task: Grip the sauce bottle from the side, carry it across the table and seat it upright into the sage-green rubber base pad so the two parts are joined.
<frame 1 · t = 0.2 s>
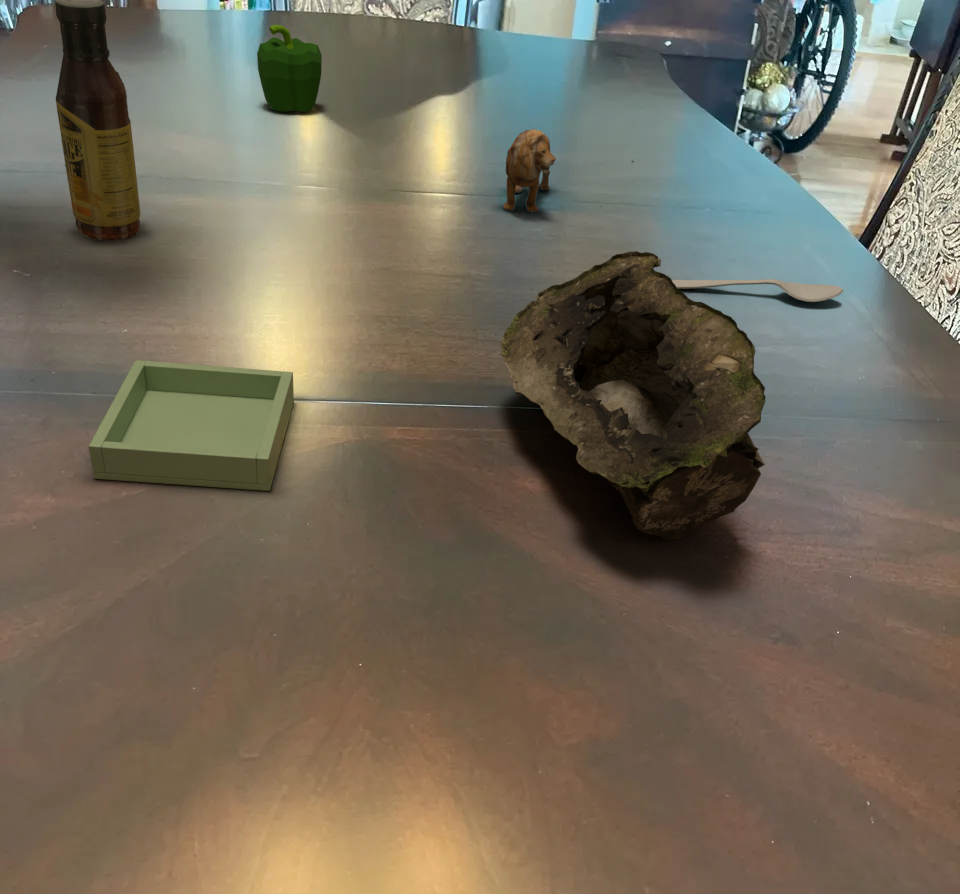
sauce bottle: (110, 235, 103), on the table
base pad: (200, 437, 75), on the table
bell pepper: (290, 110, 141), on the table
spoon: (736, 295, 105), on the table
lion figurine: (528, 204, 120), on the table
hollow geode rock: (616, 474, 77), on the table
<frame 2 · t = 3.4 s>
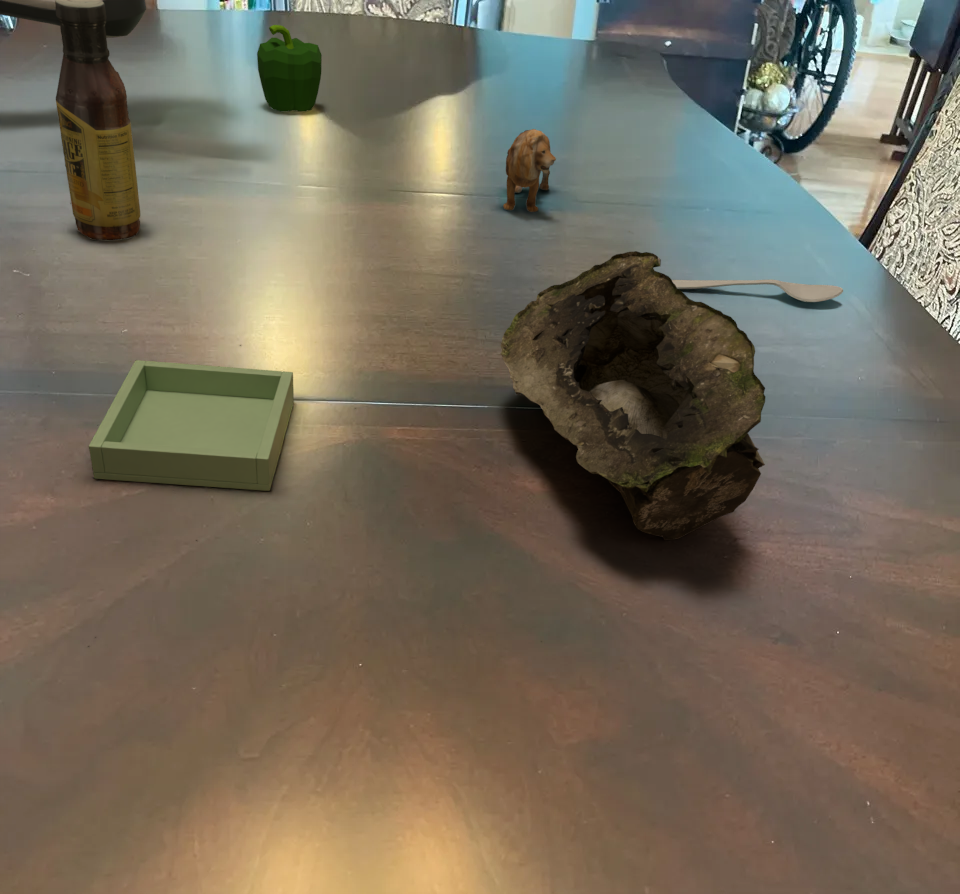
nothing on the table moved.
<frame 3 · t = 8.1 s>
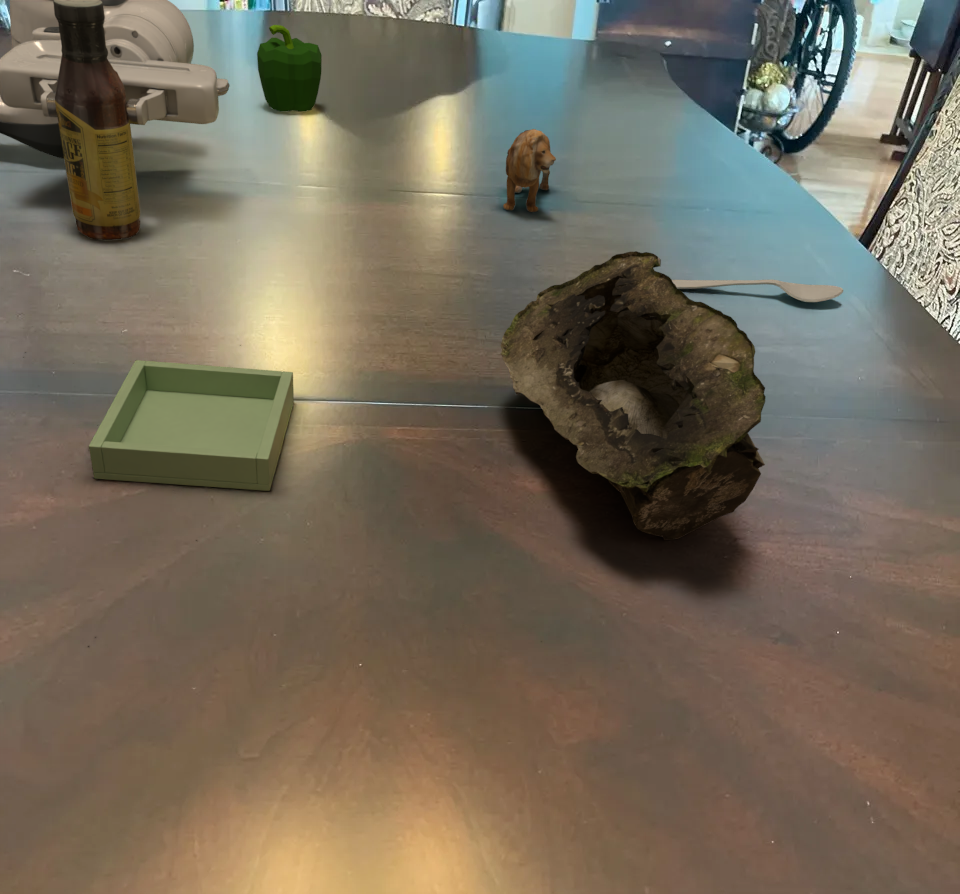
hand: (91, 111, 95), 11 cm above the table, tool horizontal, fingers closed on sauce bottle, 6 cm apart
sauce bottle: (110, 234, 103), on the table, touching gripper
everything else where it was.
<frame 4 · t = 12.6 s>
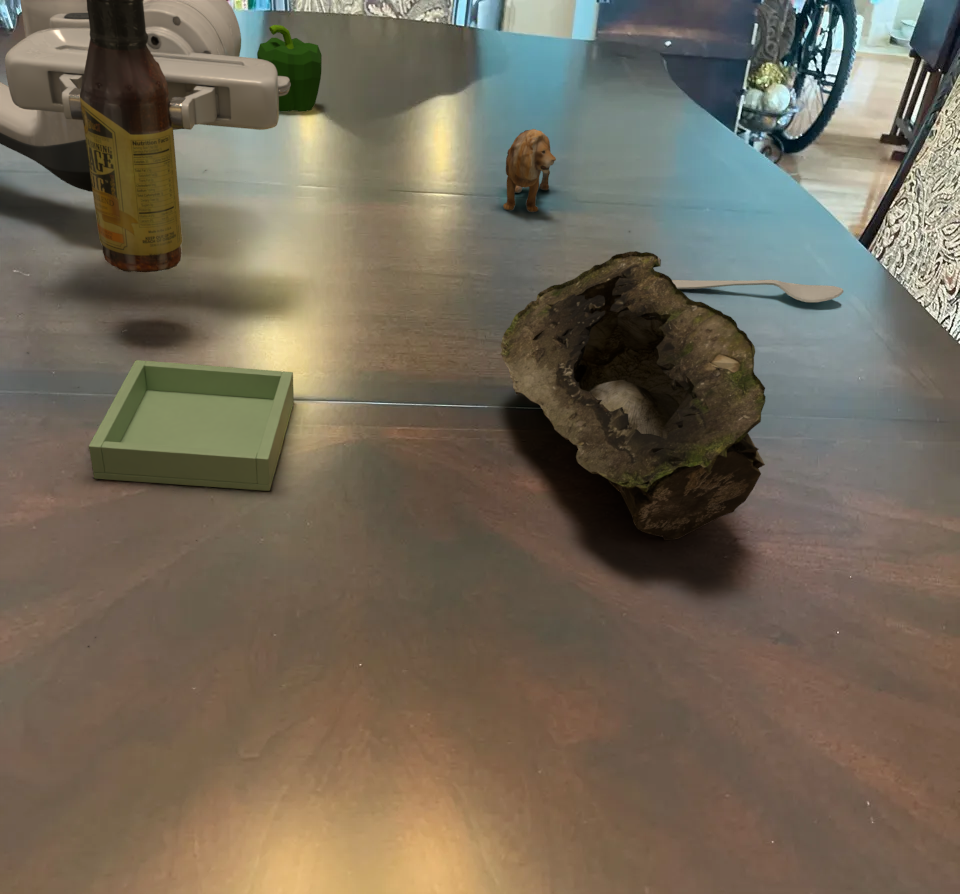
hand: (125, 112, 76), 17 cm above the table, tool horizontal, fingers closed on sauce bottle, 6 cm apart
sauce bottle: (144, 265, 83), point 6 cm above the table, touching gripper
everything else where it was.
when the fingers open (12 cm above the table, at t = 16.9 s): sauce bottle stays where it is, resting on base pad.
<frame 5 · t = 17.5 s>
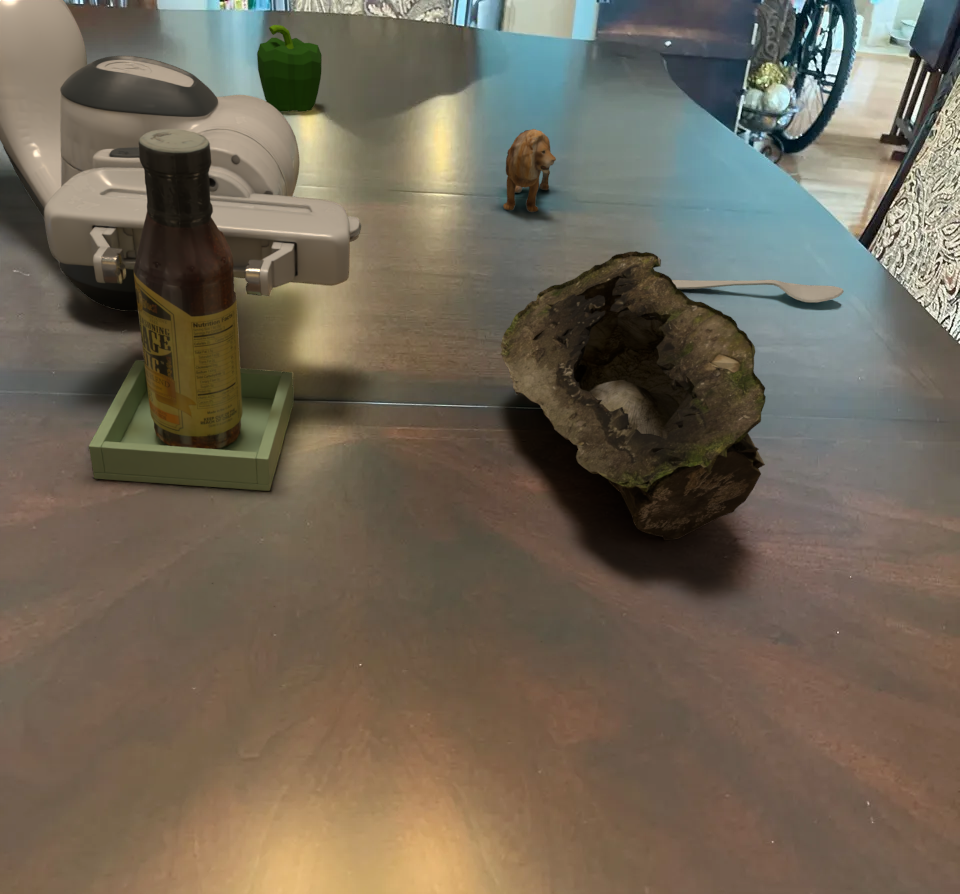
hand: (181, 278, 67), 12 cm above the table, tool horizontal, fingers open, 8 cm apart
sauce bottle: (200, 438, 74), resting on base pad
everything else where it was.
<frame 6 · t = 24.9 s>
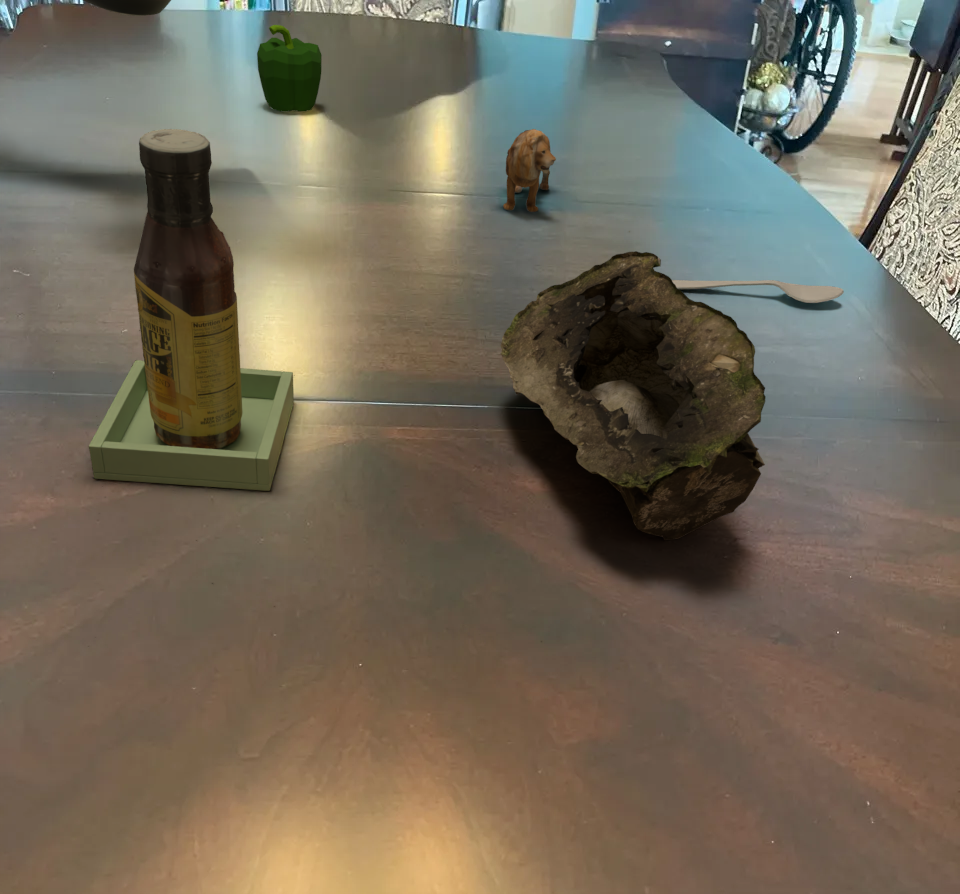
nothing on the table moved.
at the end: sauce bottle 0.6 cm off-centre in the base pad, point 0.3 cm above the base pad's base; sauce bottle tilted 0°; the gripper is holding nothing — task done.
